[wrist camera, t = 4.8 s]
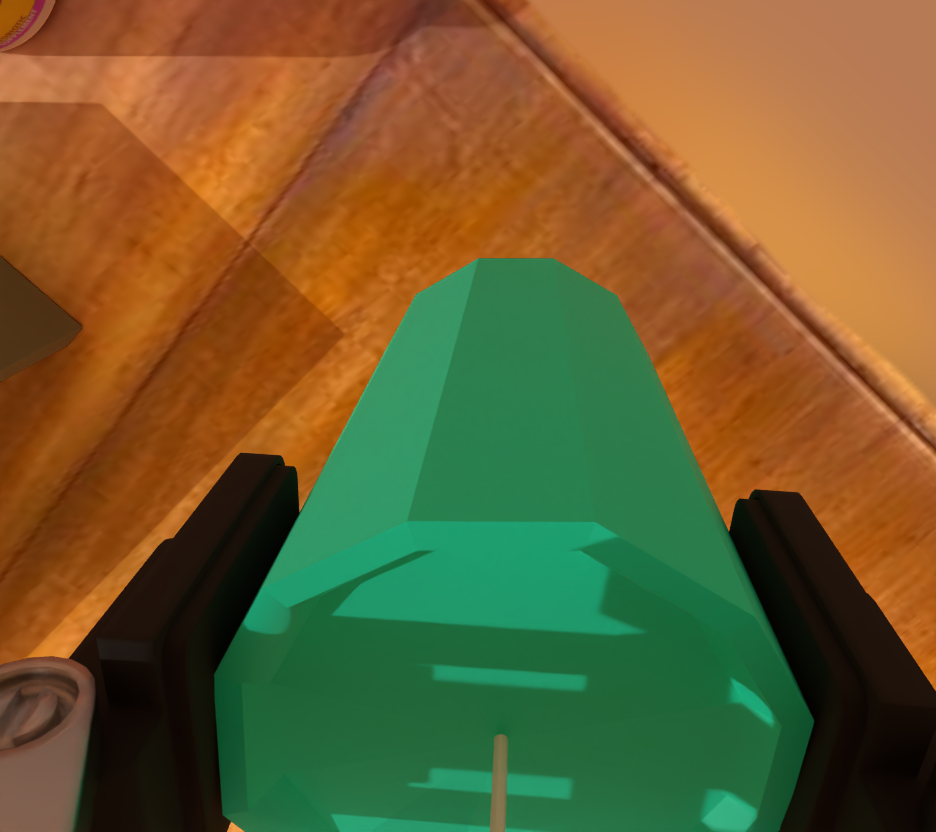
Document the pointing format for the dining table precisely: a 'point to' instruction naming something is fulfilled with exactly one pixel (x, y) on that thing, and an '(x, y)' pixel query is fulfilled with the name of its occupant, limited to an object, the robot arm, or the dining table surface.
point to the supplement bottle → (21, 20)
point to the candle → (509, 598)
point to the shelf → (29, 323)
